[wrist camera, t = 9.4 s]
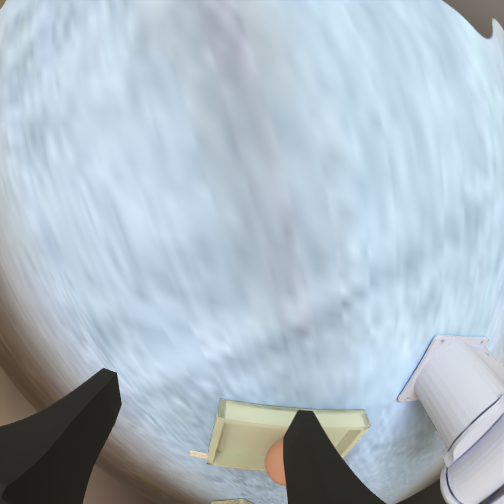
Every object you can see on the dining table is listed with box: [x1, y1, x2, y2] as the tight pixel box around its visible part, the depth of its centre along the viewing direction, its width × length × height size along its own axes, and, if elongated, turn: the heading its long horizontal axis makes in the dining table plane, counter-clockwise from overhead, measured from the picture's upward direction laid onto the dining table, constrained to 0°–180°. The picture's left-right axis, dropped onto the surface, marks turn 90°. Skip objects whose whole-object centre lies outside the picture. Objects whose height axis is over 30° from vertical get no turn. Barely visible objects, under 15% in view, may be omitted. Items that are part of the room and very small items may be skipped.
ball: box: [264, 439, 286, 486], centre depth 20 cm, size 6×6×6 cm
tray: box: [207, 399, 371, 471], centre depth 22 cm, size 14×10×2 cm
